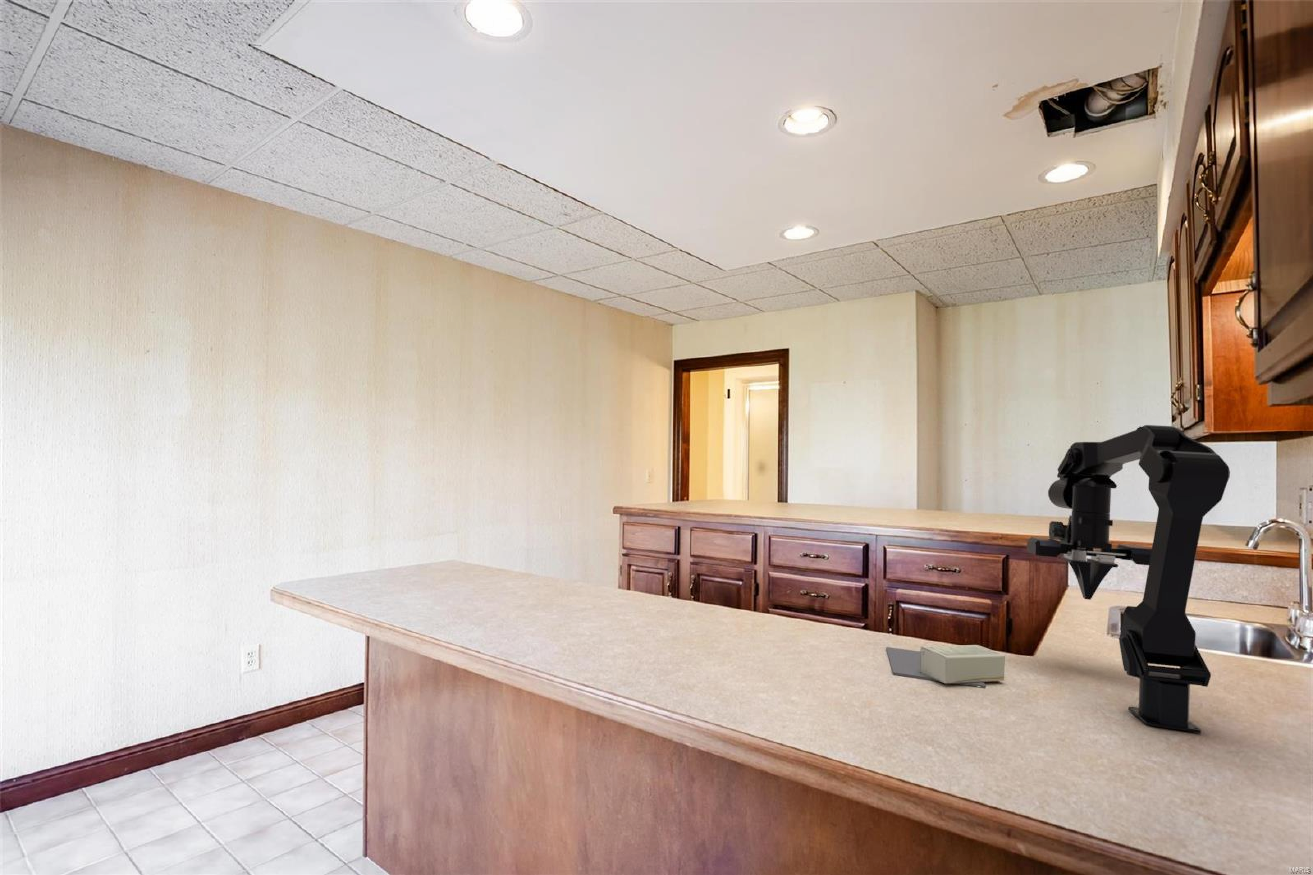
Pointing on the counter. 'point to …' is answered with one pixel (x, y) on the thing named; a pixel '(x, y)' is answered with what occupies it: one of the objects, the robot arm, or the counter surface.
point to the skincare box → (962, 663)
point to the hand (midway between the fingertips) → (1086, 599)
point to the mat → (912, 665)
